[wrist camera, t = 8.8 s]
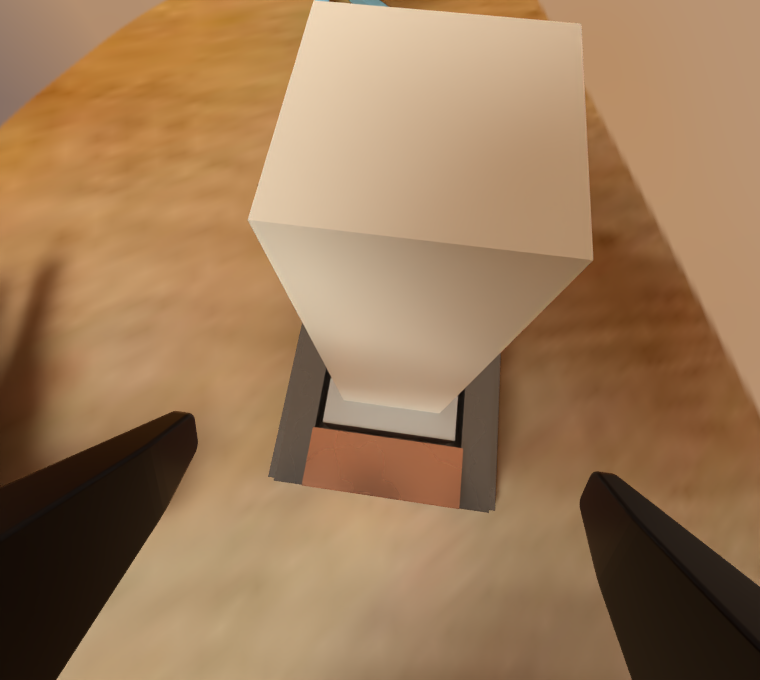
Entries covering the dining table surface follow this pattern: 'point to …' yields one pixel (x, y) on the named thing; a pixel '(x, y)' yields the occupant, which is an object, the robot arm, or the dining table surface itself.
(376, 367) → the slider
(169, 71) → the dining table surface
